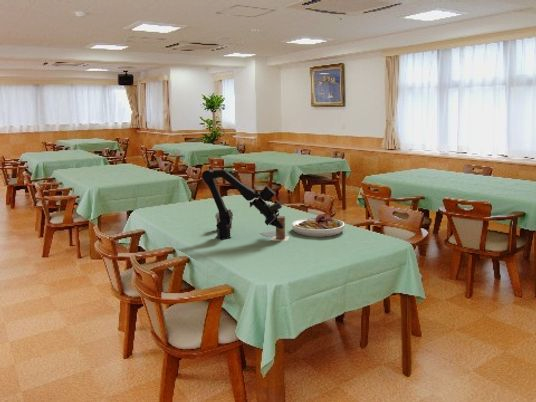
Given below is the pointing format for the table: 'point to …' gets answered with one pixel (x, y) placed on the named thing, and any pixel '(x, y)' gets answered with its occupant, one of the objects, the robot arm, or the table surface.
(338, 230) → the bowl
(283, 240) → the tile
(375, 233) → the table surface
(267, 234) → the rest mat
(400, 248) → the table surface
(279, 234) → the walnut block
